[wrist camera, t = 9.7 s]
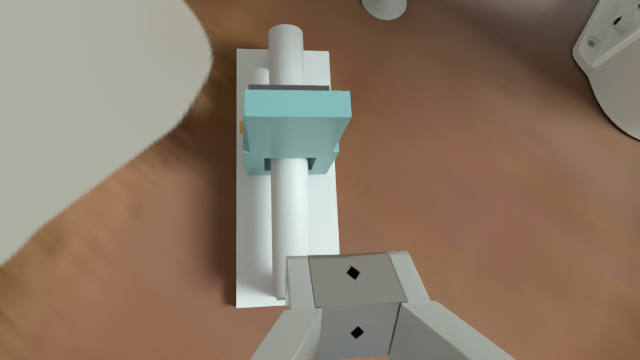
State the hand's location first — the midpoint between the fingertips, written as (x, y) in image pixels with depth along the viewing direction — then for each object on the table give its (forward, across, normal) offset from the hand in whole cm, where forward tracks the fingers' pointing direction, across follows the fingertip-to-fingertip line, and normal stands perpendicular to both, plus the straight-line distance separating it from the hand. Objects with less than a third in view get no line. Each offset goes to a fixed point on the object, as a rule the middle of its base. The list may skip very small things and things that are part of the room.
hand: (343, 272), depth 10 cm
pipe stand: (+26, 0, +13) cm, 29 cm away
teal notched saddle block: (+25, 0, +10) cm, 27 cm away
